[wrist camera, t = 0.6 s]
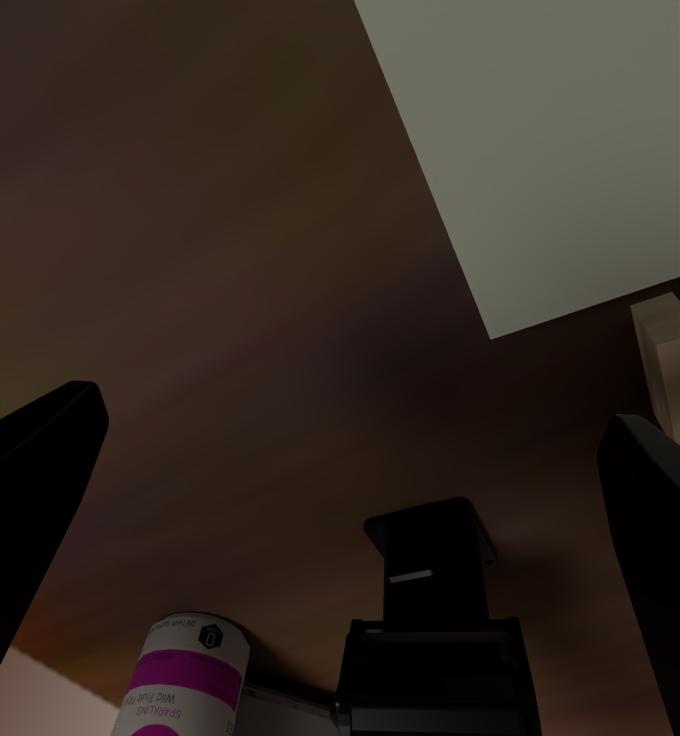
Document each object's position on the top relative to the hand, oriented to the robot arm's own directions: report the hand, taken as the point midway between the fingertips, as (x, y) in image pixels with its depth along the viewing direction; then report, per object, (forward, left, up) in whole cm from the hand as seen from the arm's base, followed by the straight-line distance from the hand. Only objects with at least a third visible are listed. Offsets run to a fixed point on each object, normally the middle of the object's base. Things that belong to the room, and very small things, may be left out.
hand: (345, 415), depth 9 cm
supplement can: (-28, +28, -14) cm, 42 cm away
